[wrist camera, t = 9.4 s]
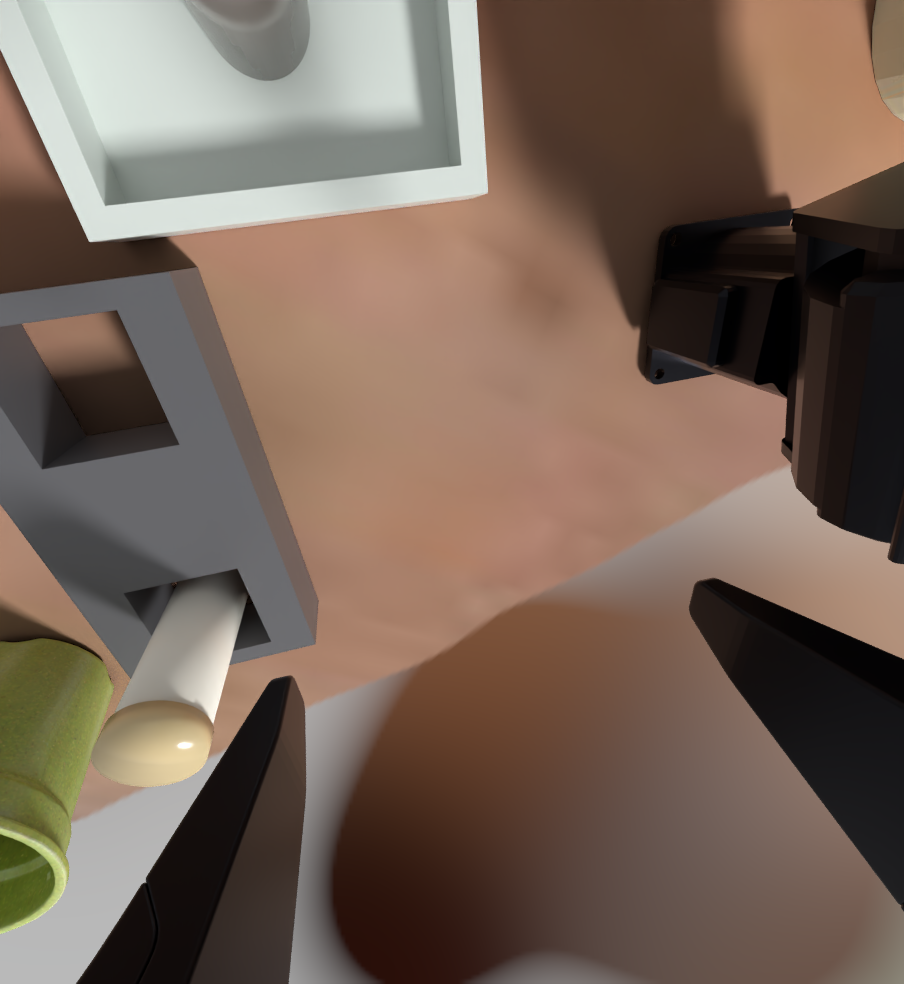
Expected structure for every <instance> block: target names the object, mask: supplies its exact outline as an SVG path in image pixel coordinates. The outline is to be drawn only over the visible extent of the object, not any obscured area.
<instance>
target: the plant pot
mask: <svg viewBox="0 0 904 984" xmlns="http://www.w3.org/2000/svg"><path fill="white" fill-rule="evenodd" d="M113 689H114V685H113V684H112V683H111V680H110V678H109V676H108V672H107V669H106V665H105V664H104V663H103V662H102V661H101V660H100V659H99V658H97V657H96V656H94V655H93V654H91V653H90V652H88V651H86V650H84V649H82V648H80V647H77V646H75V645H72V644H69V643H65V642H62V641H58V640H52V639H44V638H39V639H34V640H30V641H24V642H14V643H13V642H5V641H1V642H0V934H2V933H5V932H7V931H10V930H13V929H16V928H17V927H20V926H22V925H24V924H26V923H29V922H30V921H32V920H35V919H37V918H38V917H40V916H41V915H43V914H44V913H45V912H46V911H48V910H49V909H50V908H51V907H52V906H54V905H55V903H56V902H57V901H58V900H59V899H60V897H61V895H62V894H63V892H64V889H65V886H66V884H67V881H68V877H69V864H68V860H67V858H66V856H65V855H66V851H67V848H68V845H69V841H70V837H71V818H72V814H73V811H74V808H75V805H76V802H77V799H78V796H79V793H80V790H81V786H82V783H83V780H84V777H85V774H86V771H87V768H88V765H89V762H90V759H91V752H92V749H93V747H94V745H95V743H96V740H97V738H98V735H99V732H100V729H101V726H102V723H103V720H104V717H105V714H106V711H107V708H108V705H109V702H110V699H111V696H112V693H113Z"/></svg>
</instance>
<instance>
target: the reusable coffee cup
mask: <svg viewBox="0 0 904 984" xmlns="http://www.w3.org/2000/svg"><path fill="white" fill-rule="evenodd" d="M872 61H873V68H874V75H875V81H876V84H877V86H878V89H879V92H880V94H881V97H882V100H883V101H884V103H885V104H886V105H887V107H888V108H889V109H890V111H891V112H892V113H893V115H895V116H896V117H898V118H899V119H901V120H902V121H904V0H876V6H875V13H874V19H873V26H872Z"/></svg>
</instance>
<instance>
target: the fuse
mask: <svg viewBox="0 0 904 984" xmlns="http://www.w3.org/2000/svg"><path fill="white" fill-rule="evenodd" d="M247 597H248V591H247V588H246V586H245V584H244V582H243V580H242V578H241V575H240V573H239V571H238V569H233V570H229V571H224V572H219V573H215V574H210V575H205V576H201V577H196V578H192V579H187V580H182V581H178V583H177V585H176V587H175V589H174V592H173V594H172V596H171V598H170V600H169V602H168V604H167V606H166V608H165V610H164V612H163V614H162V616H161V618H160V620H159V622H158V624H157V626H156V628H155V631H154V633H153V635H152V637H151V639H150V641H149V643H148V645H147V647H146V649H145V651H144V653H143V655H142V657H141V659H140V661H139V663H138V665H137V667H136V670H135V672H134V674H133V676H132V678H131V680H130V682H129V684H128V686H127V688H126V690H125V692H124V694H123V696H122V698H121V700H120V702H119V704H118V707H117V709H116V711H115V713H114V714H113V715H112V716H111V717H110V718H109V719H108V720H107V721H106V723H105V725H104V727H103V729H102V731H101V733H100V735H99V737H98V739H97V741H96V743H95V745H94V747H93V749H92V752H91V761H92V764H93V766H94V768H95V769H96V770H97V771H98V772H99V773H100V774H101V775H103V776H104V777H106V778H108V779H110V780H112V781H115V782H117V783H121V784H125V785H130V786H141V787H153V786H162V785H168V784H172V783H175V782H179V781H181V780H184V779H186V778H188V777H190V776H192V775H193V774H195V773H196V772H198V771H199V770H200V769H201V768H202V767H203V765H204V764H205V762H206V760H207V757H208V753H209V750H210V746H211V742H212V738H213V734H214V727H213V722H214V719H215V715H216V711H217V708H218V704H219V700H220V697H221V693H222V689H223V686H224V682H225V678H226V674H227V671H228V667H229V663H230V660H231V656H232V652H233V649H234V645H235V641H236V638H237V634H238V630H239V626H240V623H241V619H242V615H243V612H244V608H245V604H246V601H247Z"/></svg>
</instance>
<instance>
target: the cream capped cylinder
mask: <svg viewBox="0 0 904 984" xmlns="http://www.w3.org/2000/svg"><path fill="white" fill-rule="evenodd" d="M184 1H185V3H186V4H187V6H188V7H189V9H190V10H191V12H192V13H193V15H194V16H195V18H196V20H197V21H198V23H199V24H200V26H201V27H202V29H203V30H204V32H205V33H206V35H207V36H208V38H209V39H210V41H211V42H212V44H213V45H214V47H215V48H216V50H217V51H218V52H219V53H220V55H221V56H222V57H223V58H224V59H225V60H226V61H227V62H228V63H229V64H230V65H231V66H232V67H234V68H235V69H236V70H238V71H239V72H241V73H242V74H244V75H246V76H249V77H251V78H254V79H257V80H263V81H273V80H278V79H281V78H284V77H286V76H287V75H289V74H290V73H292V72H293V71H294V70H295V69H296V68H297V67H298V65H299V64H300V62H301V61H302V59H303V57H304V55H305V53H306V50H307V46H308V43H309V36H310V15H309V8H308V1H307V0H184Z"/></svg>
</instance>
